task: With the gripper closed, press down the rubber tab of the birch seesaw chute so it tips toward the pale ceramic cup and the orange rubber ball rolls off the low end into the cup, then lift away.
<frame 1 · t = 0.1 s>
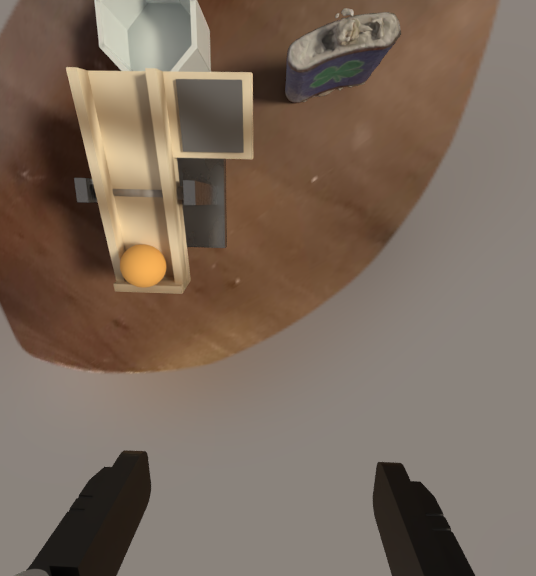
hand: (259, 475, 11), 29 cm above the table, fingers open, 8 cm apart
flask: (327, 81, 33), on the table
lever: (173, 195, 27), point 10 cm above the table, hinge at 12.0°, touching ball
cup: (168, 51, 33), on the table
ball: (143, 266, 29), point 10 cm above the table, tilted 12°, touching lever
lever stand: (175, 194, 37), on the table
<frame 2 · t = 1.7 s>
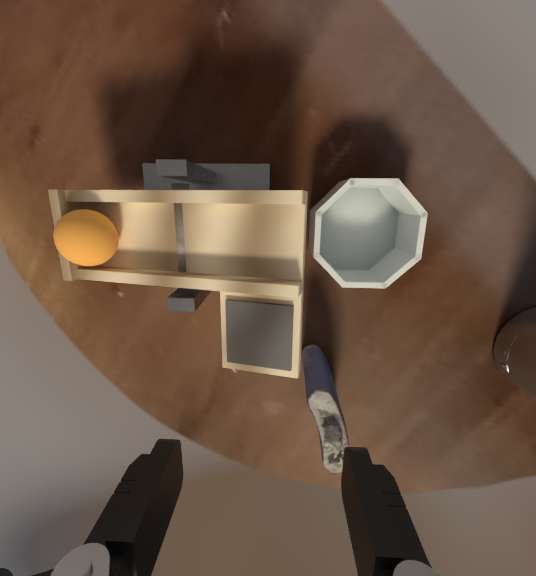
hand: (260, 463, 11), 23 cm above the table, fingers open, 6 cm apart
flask: (319, 377, 36), on the table
lever: (179, 281, 23), point 10 cm above the table, hinge at 12.0°, touching ball
cup: (354, 229, 31), on the table
ball: (87, 238, 22), point 10 cm above the table, tilted 12°, touching lever
lever stand: (210, 227, 32), on the table
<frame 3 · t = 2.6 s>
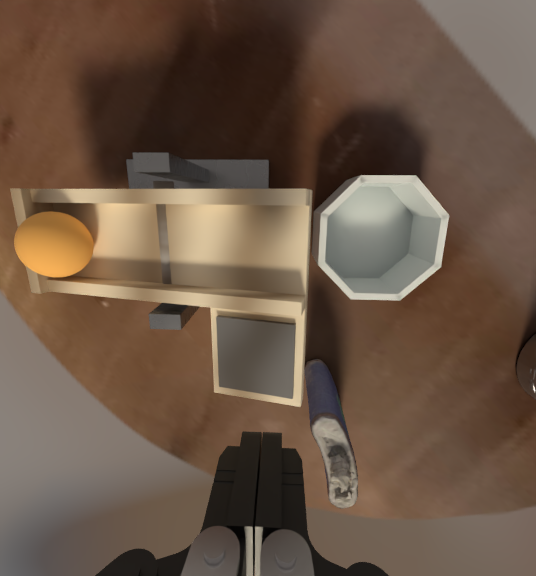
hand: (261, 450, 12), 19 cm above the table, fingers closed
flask: (323, 395, 33), on the table
lever: (163, 294, 20), point 10 cm above the table, hinge at 12.0°, touching ball
cup: (363, 233, 28), on the table
ball: (56, 244, 19), point 10 cm above the table, tilted 12°, touching lever
lever stand: (203, 231, 28), on the table
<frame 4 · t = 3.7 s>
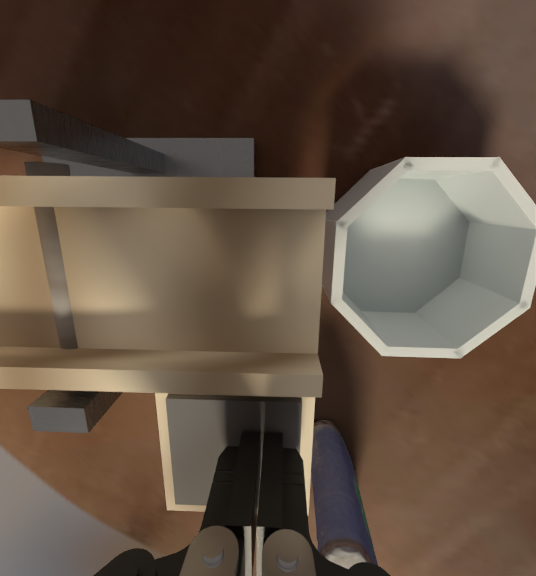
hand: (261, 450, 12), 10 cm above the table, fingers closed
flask: (333, 465, 24), on the table
lever: (63, 369, 11), point 10 cm above the table, hinge at -0.9°, touching ball, gripper
cup: (393, 248, 19), on the table
lever stand: (162, 244, 20), on the table
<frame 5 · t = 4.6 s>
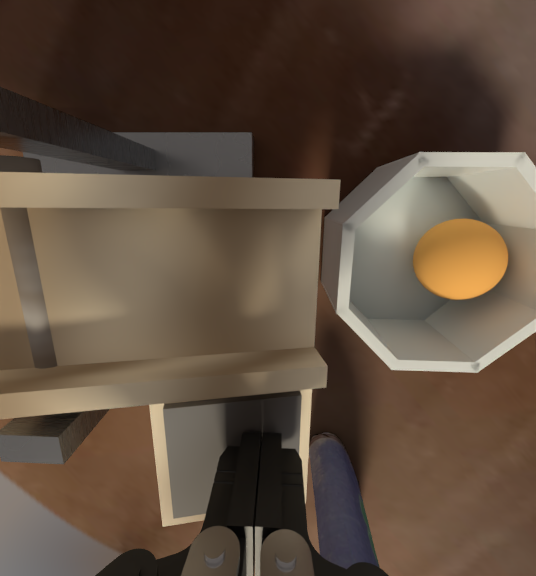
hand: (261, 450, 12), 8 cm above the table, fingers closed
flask: (336, 479, 23), on the table
lever: (42, 391, 10), point 10 cm above the table, hinge at -12.6°, touching gripper
cup: (401, 251, 18), on the table
ball: (457, 259, 15), point 2 cm above the table, tilted 8°, touching cup
lever stand: (153, 247, 18), on the table
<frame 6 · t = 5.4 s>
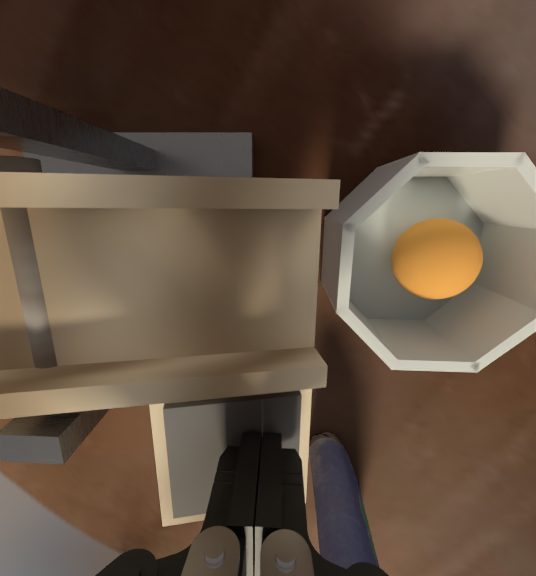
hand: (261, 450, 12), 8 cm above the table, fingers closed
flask: (336, 479, 23), on the table
lever: (42, 391, 10), point 10 cm above the table, hinge at -12.6°, touching gripper
cup: (401, 251, 18), on the table
ball: (434, 259, 15), point 2 cm above the table, tilted 40°, touching cup
lever stand: (153, 247, 18), on the table
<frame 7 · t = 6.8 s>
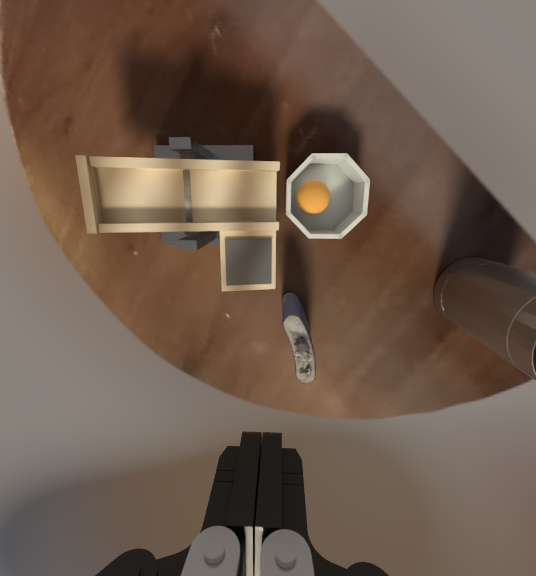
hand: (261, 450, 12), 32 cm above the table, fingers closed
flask: (297, 321, 44), on the table
lever: (189, 228, 31), point 10 cm above the table, hinge at -12.6°
cup: (320, 197, 39), on the table
ball: (312, 197, 37), point 2 cm above the table, tilted 96°, touching cup
lever stand: (207, 197, 40), on the table
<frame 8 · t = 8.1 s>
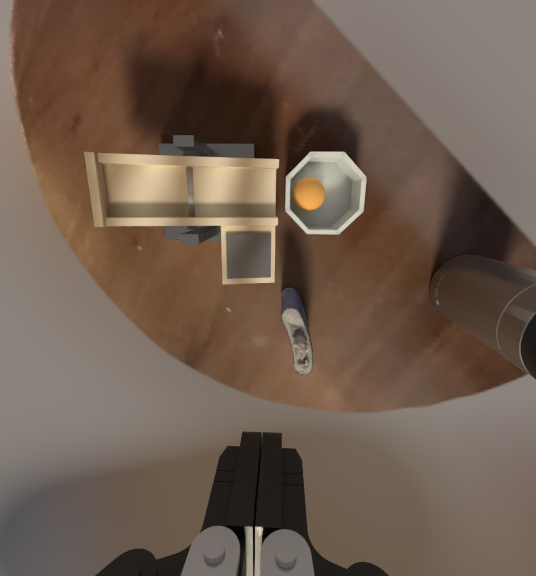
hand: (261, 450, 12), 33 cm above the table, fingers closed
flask: (295, 315, 46), on the table
lever: (192, 223, 32), point 10 cm above the table, hinge at -12.6°
cup: (319, 195, 41), on the table
ball: (308, 194, 38), point 2 cm above the table, tilted 106°, touching cup
lever stand: (210, 194, 41), on the table
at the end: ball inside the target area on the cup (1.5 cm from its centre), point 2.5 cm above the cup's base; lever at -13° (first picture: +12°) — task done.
